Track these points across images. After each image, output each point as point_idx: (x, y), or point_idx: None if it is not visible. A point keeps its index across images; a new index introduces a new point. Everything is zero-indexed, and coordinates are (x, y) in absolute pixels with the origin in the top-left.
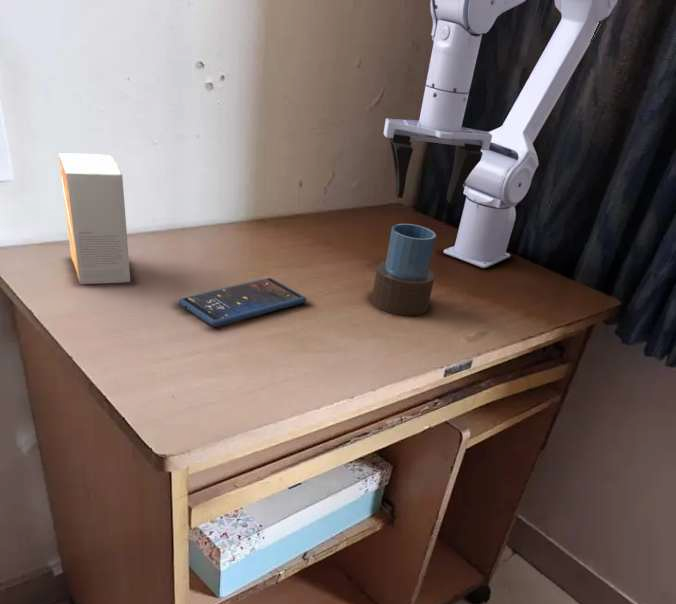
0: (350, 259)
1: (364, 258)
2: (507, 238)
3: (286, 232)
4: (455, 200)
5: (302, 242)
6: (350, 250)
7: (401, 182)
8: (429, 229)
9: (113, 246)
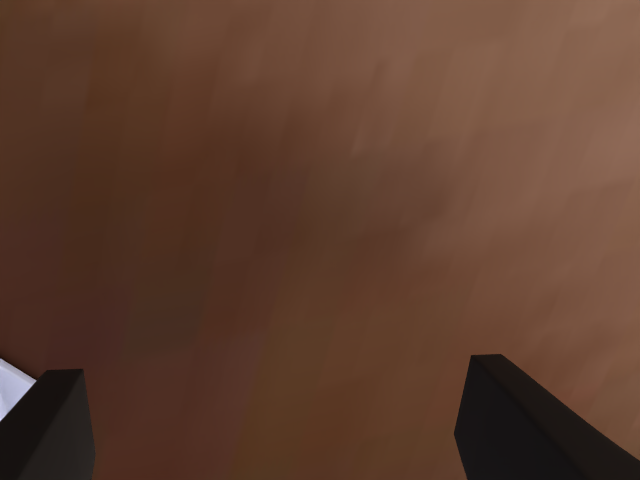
0: (492, 251)
1: (429, 273)
2: None
3: (637, 425)
4: (30, 388)
5: (617, 360)
6: (461, 335)
7: (562, 417)
8: None
9: None
